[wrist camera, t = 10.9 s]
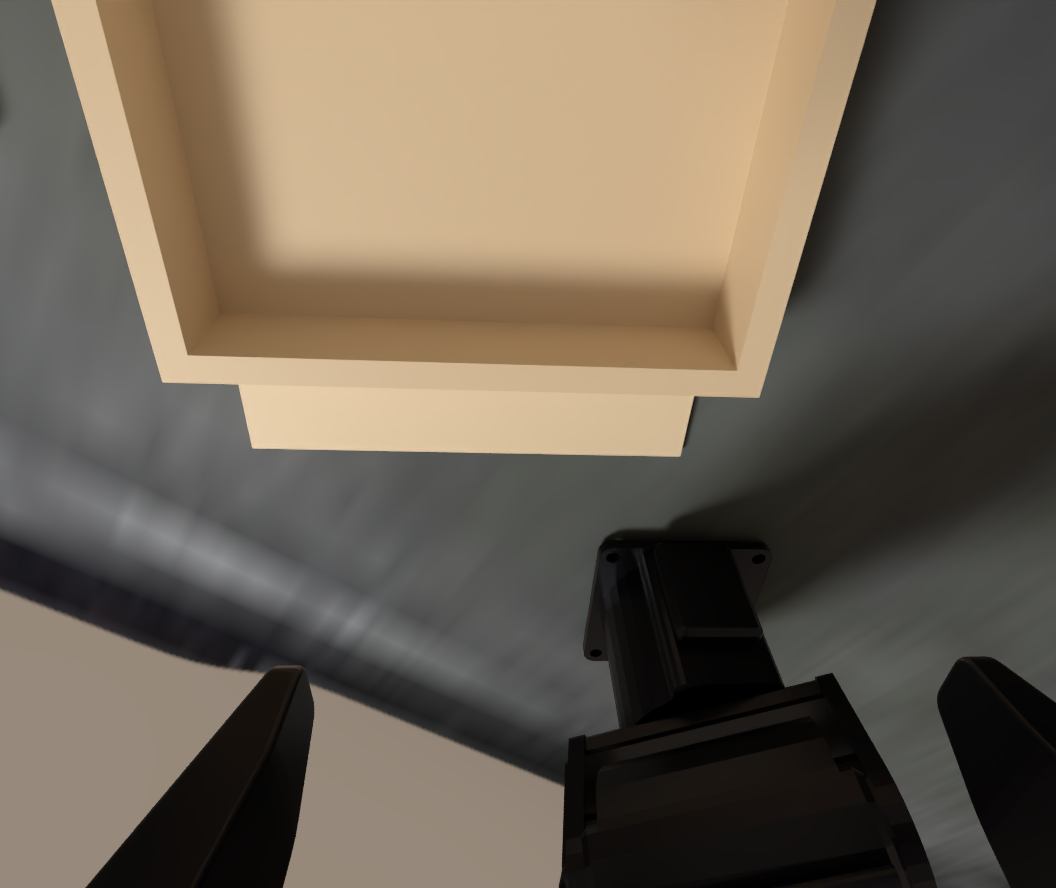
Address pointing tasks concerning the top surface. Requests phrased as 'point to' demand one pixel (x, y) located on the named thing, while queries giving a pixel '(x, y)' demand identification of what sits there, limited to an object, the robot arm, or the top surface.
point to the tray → (465, 205)
